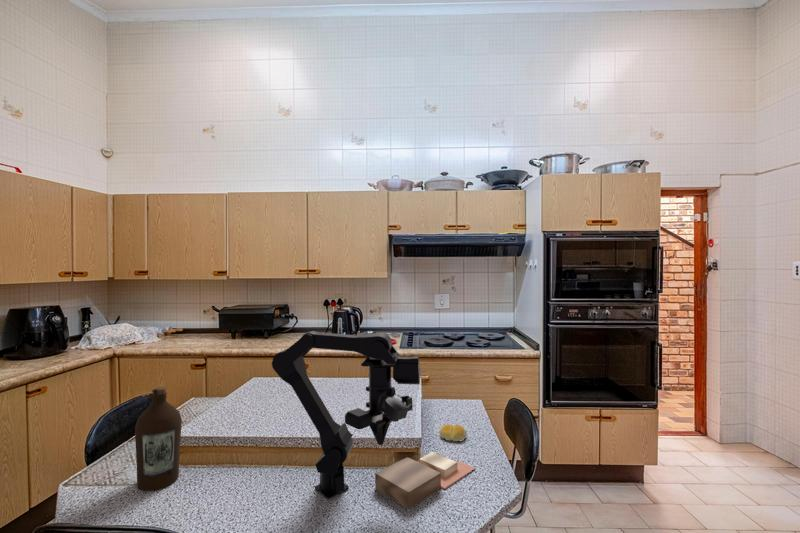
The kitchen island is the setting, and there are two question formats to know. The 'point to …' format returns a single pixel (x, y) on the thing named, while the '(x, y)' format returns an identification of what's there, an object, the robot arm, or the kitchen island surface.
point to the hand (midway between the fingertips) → (380, 444)
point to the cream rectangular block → (439, 463)
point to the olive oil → (158, 443)
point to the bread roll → (453, 432)
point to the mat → (456, 475)
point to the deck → (408, 482)
